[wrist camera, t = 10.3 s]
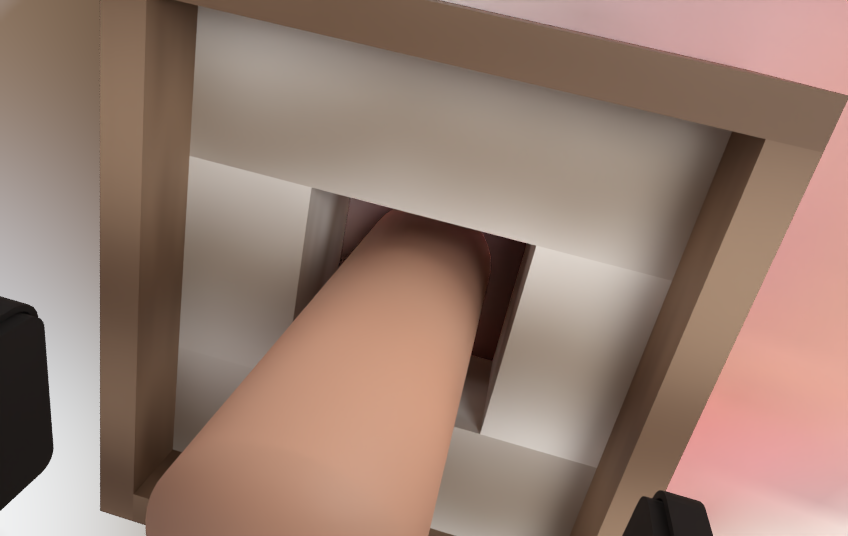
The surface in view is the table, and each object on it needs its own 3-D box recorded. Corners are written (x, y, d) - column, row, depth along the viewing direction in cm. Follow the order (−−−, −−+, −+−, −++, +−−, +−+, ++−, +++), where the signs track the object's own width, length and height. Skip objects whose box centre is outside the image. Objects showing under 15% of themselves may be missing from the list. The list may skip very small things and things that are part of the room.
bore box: (240, -45, 18) (99, -74, 12) (748, 70, 16) (849, 96, 11) (205, 395, 23) (100, 510, 18) (575, 504, 22) (584, 665, 17)
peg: (377, 186, 19) (149, 407, 8) (504, 219, 19) (443, 496, 8) (356, 300, 21) (141, 614, 10) (473, 333, 20) (386, 696, 10)
